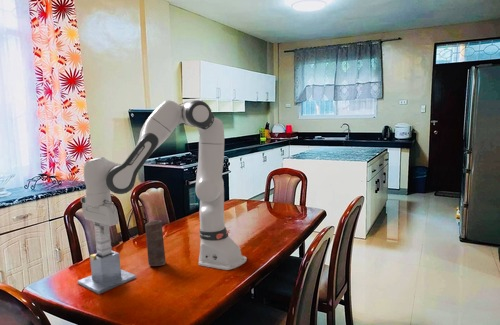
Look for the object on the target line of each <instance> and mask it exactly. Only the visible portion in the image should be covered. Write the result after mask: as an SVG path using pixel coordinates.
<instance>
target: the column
mask: <svg viewBox="0 0 500 325" xmlns="http://www.w3.org/2000/svg"><path fill="white" fill-rule="evenodd" d="M93 227H94V228H93V229H94V237H95V238H94V239H95V240H94V242H95V250H96V253H97V257H100V258H104V257H106V256H109V255H112V251H113V250H112V249H113V246H112V243H111V242H112V239H111V232H110V231H111V230H110V229H109V234H107V235H105V234H103V230H104V226H103V224H101V223H99V224H97V225H94V224H93ZM111 250H112V251H111Z"/></svg>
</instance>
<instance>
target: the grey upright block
mask: <svg viewBox="0 0 500 325" xmlns="http://www.w3.org/2000/svg"><path fill="white" fill-rule="evenodd" d="M144 228H145V237H146V238H145V239H146V251H147V261H148V265H149V266H151V267H158V266H165V265H166V264H167V261H166V252H165V242H164V232H163V222H162V220H159V219H158V220H156V219H155V220H150V221H148V222H146V223H145V224H144Z"/></svg>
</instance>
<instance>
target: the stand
mask: <svg viewBox="0 0 500 325" xmlns="http://www.w3.org/2000/svg"><path fill="white" fill-rule="evenodd" d="M111 251H112V255H109V256H106V257H104V258H100V257H97V252H96V253H93V254H90V255H89V261H90V270H91V275H89V276H85V277H84V278H81V279H79V280H77V284H78V285H79V286H82V287H84V288H86V290H89V291H92V292H93V293H95V294H97V295H101V294H102V293H103V294H104V293H106V292H108V291H110V290H113V289H114V288H117V287H119V286H122V285H123V284H125V283H128V282H130V281H133V280H135V279H137V276H136V274H134V273H131V272H128V271H127V270H123V269H121V260H120V253H119V252H117V251H114V250H112V249H111Z"/></svg>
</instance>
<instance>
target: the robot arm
mask: <svg viewBox="0 0 500 325" xmlns="http://www.w3.org/2000/svg"><path fill="white" fill-rule="evenodd" d="M180 124H183V125H185V126H189V127H192V128H197V130H198V134H199V138H198V162H197V169H196V177H195V178H196V179H195V187H194V188H195V195H196V197H197V198H198V200H199V212H198V213H199V225H200V227H199V238H200V244H199V245H200V246H199V255H198V266H202V267H205V268H206V267H207V268H213V269H218V270H224V271H229V270H233V269H236V268H239V267H240V266H242V265H243V264H245V263H246V262H247V259H248V258H247V256H245V255H243V254H242V250H241V247H240V246H239V245H238V244H237V243H236V242H235V241H234V240H233V239H232V238H231V237H230V236H229V234H230V231H231V230H227V227H226V224H225V186H224V185H225V184H224V183H225V182H224V179H223V172H224V171H223V170H224V162H225V161H224V160H225V159H224V158H225V129H224V123H223V121H222V120H221V119H219V117H218V118H217V117H215V115H214V114H213V112H212V109H211V107H210V106H209V104H207V102H205V101H203V100H199V99H198V100H197V99H196V100H195V99H192V100H189V101H185V102H182V103H180V104H178V103H177V102H175V101H173V100H171V99H169V100H164V101H163V102H162V103H161V104H159V105H158V106H157V107H156V108H155V109H154V110H153V111H152V112H151V114H150V115H149V116H148V117H147V119H146V120H145V122H144V123H143V125H142V127H141V129H140V131H139V137H138V140H137V143H136V145H135V146H134V148H133V149H132V151H131V152H130V154H129V155H128V156H127V157H126V158H125V160H124V161H123V163H118V162H114V161H112V160H109V159H107V158H106V157H100V156H99V157H95V158H91V159H89V160H87V161H86V162H85V163H84V165H83V180H84V185H85V187H86V188H85V195H84V196H81V198H80V203H81V205H82V206H81V208H82V215H83V218H84V219H85V220H87V221H90V222H92V224H93V226H94V225H97V224H100V223H101V224H103V226H104V230H103V234H105V235H107V234H109V230H110V228H111V227H113V226H115V225H118V224H119V222H120V220H119V214H118V209H117V207H116V205H115V204H114V203H113V201H112V194H111V192H112V193H114V194H116V195H124V194H127V193H128V192H130V191H131V190H132V189H133V188H134V187H135V183H136V179H137V175H138V174H139V172H140V170H141V169H142V167H143V166H144V164H146V162H147V160H148V159H149V158H150V156H151V155H152V154H153V152H155V151H156V150H157V149H158V148H159V147H160V146H161V145H162V144H163V143H164V142H166V140H167V139H168V138H169V137H170V136H171V135H172V133H173V132H174V131H175V129H176V128H177V127H179V125H180Z"/></svg>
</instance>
